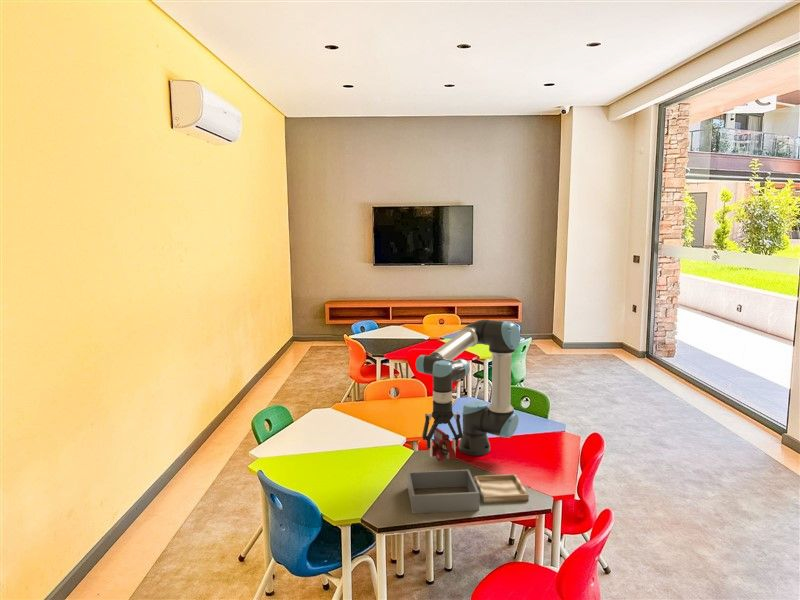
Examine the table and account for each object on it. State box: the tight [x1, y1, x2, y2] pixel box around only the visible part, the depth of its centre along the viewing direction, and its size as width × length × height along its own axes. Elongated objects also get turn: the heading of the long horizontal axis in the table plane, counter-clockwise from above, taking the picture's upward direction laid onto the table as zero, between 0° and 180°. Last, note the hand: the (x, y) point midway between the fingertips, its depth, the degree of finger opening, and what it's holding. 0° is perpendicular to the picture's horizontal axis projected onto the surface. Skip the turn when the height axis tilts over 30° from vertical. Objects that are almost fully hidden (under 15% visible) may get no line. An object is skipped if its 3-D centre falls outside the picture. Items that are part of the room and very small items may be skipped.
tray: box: [473, 473, 530, 504], centre depth 227 cm, size 18×18×2 cm
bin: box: [406, 468, 481, 514], centre depth 221 cm, size 20×26×7 cm
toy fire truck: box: [428, 427, 456, 463], centre depth 218 cm, size 7×12×10 cm, turn 26°
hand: (442, 454), depth 219 cm, fingers closed on toy fire truck, 8 cm apart
